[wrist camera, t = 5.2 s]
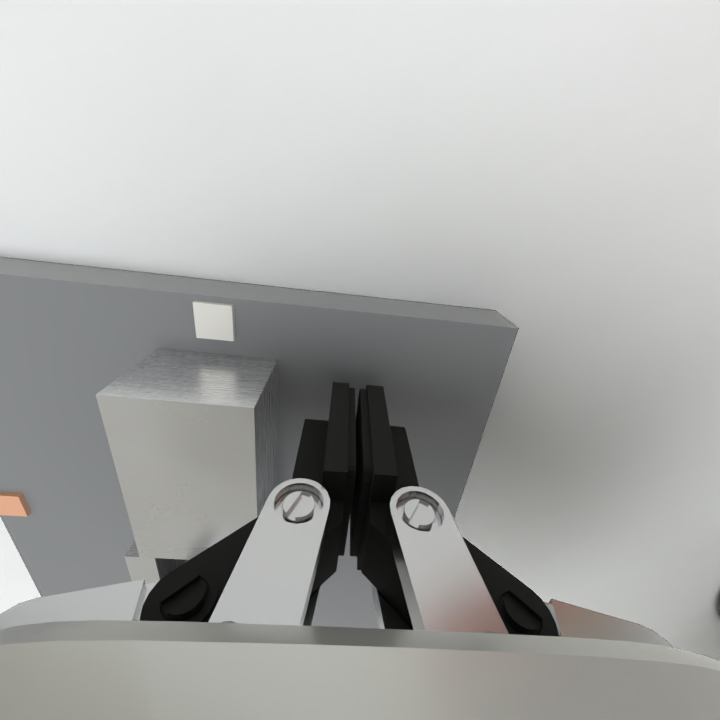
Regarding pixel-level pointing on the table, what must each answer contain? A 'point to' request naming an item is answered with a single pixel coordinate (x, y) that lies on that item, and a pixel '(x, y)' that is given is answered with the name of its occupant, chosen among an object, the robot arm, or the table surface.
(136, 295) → the cover plate
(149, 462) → the grey long block
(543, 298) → the table surface
